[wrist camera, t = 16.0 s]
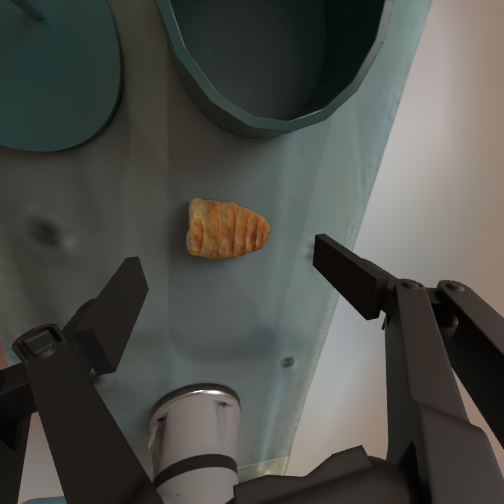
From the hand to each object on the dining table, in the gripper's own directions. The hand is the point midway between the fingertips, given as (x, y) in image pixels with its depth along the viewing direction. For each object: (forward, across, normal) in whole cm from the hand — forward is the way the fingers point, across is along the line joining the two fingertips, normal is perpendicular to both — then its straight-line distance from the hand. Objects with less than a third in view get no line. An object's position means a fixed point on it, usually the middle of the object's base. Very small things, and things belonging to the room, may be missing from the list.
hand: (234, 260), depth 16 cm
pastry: (+10, 0, 0) cm, 10 cm away
